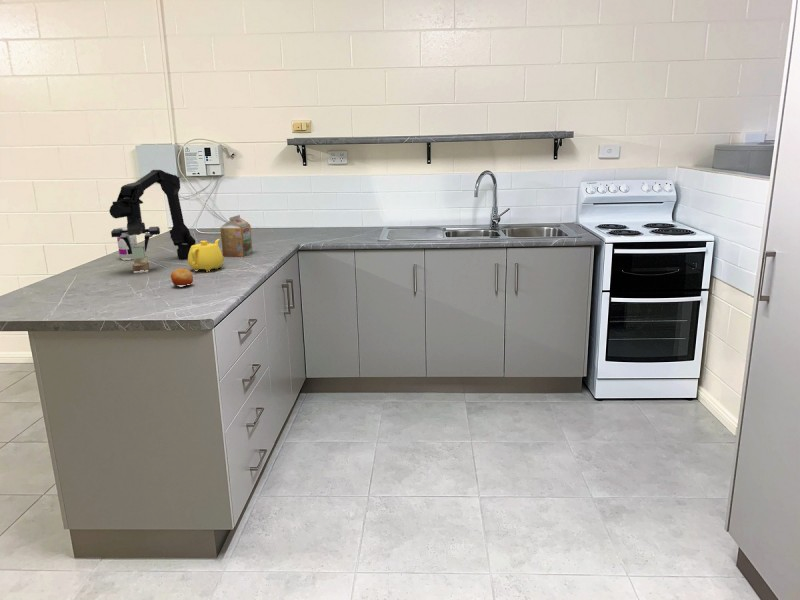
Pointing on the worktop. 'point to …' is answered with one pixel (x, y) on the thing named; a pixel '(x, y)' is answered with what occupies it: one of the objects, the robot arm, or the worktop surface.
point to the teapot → (205, 256)
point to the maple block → (140, 261)
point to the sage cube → (138, 252)
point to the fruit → (181, 277)
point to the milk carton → (236, 238)
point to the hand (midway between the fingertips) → (138, 251)
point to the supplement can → (123, 247)
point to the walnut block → (141, 267)
